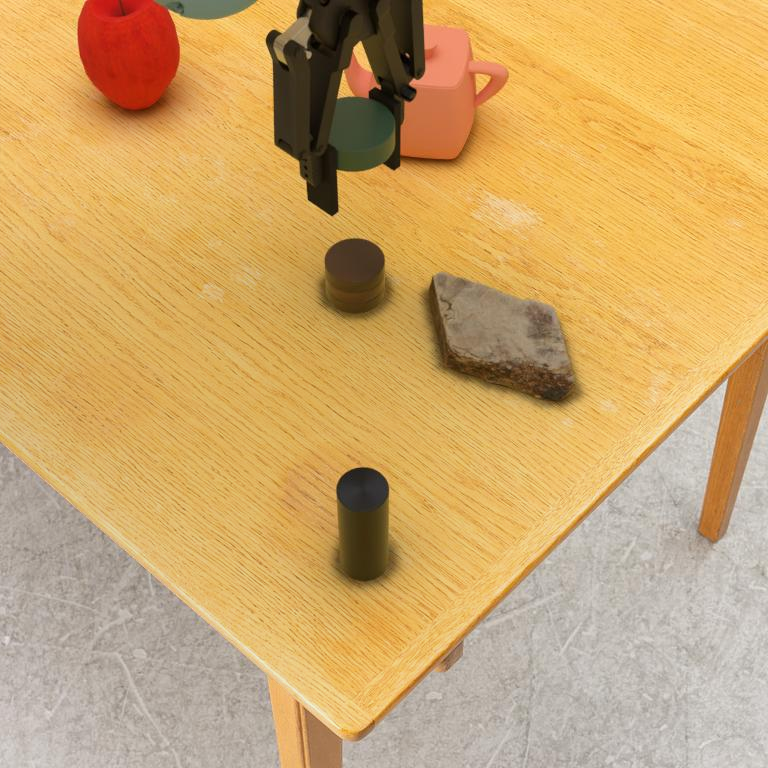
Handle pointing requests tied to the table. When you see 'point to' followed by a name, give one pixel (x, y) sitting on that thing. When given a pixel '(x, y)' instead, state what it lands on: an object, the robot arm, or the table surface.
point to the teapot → (439, 94)
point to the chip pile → (355, 275)
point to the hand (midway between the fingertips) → (354, 182)
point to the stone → (500, 337)
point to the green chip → (361, 133)
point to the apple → (128, 49)
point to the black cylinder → (363, 523)
